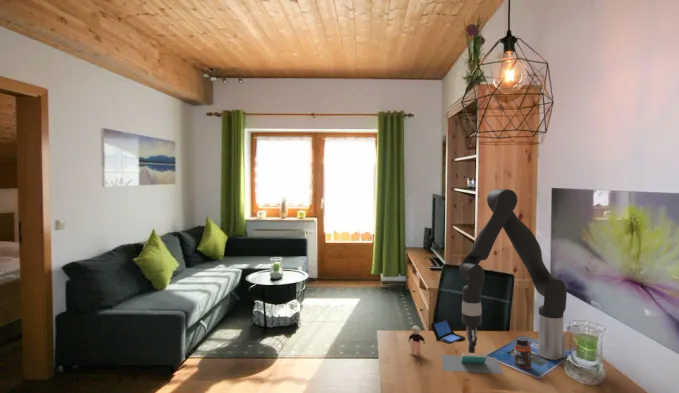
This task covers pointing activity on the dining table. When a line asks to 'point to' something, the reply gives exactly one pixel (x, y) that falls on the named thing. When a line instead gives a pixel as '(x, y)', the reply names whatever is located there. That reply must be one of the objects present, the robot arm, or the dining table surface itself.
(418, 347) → the grandmother figurine
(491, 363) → the mat
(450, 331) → the handheld game console
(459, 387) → the dining table surface
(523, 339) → the supplement bottle
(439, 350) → the dining table surface
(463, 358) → the tile
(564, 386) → the dining table surface
